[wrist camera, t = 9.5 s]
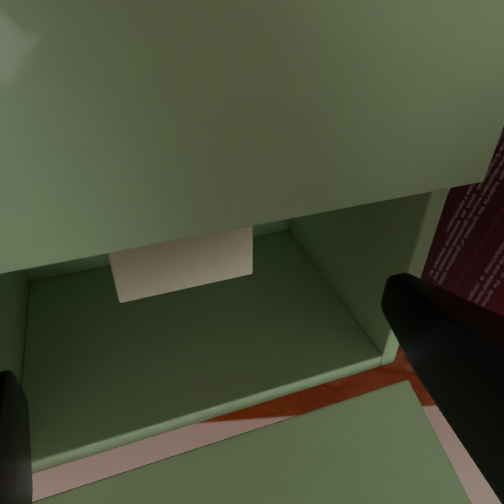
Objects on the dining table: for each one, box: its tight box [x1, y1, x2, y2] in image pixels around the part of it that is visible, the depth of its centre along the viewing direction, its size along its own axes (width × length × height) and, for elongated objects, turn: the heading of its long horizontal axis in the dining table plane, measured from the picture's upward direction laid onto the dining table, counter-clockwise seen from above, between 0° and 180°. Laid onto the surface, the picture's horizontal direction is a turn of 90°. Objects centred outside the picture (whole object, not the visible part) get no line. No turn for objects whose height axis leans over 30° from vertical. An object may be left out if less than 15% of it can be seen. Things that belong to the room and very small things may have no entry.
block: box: [107, 226, 253, 303], centre depth 13 cm, size 4×4×4 cm
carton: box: [0, 0, 504, 474], centre depth 10 cm, size 13×11×8 cm
